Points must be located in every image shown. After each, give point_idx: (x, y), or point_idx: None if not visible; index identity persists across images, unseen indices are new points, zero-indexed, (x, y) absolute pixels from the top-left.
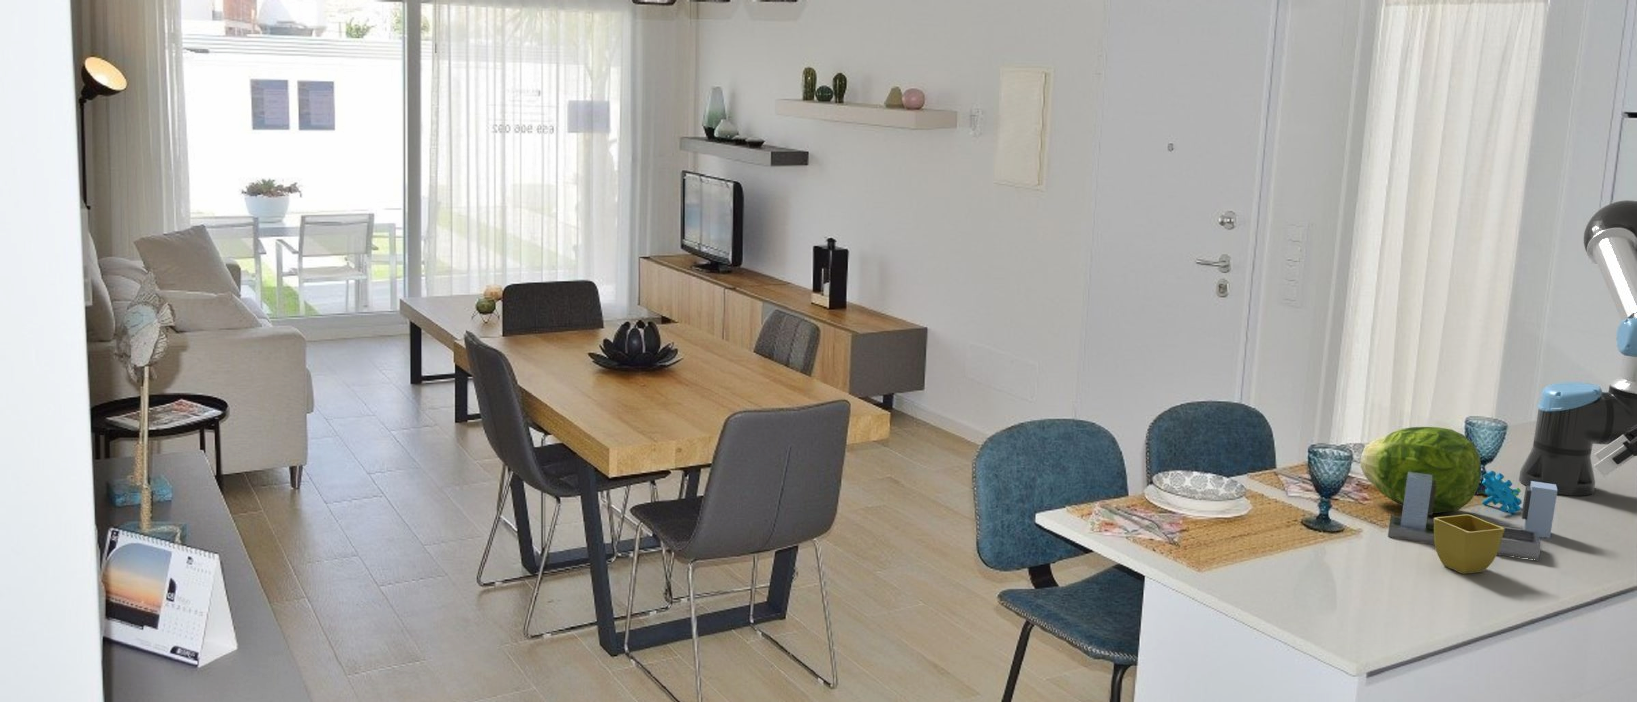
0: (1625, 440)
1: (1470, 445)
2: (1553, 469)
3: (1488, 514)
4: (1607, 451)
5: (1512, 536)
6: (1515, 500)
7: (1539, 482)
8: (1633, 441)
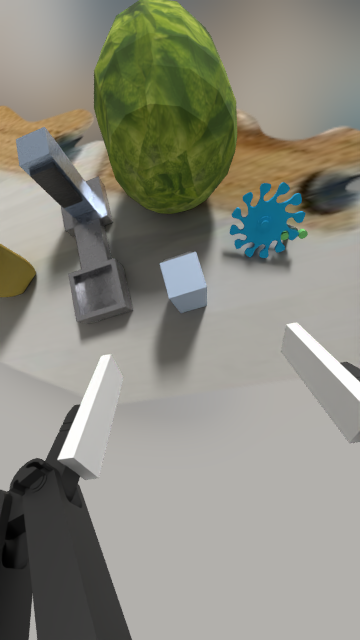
0: (354, 418)
1: (150, 115)
2: None
3: (222, 237)
4: (302, 355)
5: (113, 286)
6: (277, 244)
7: (197, 263)
8: (27, 519)
